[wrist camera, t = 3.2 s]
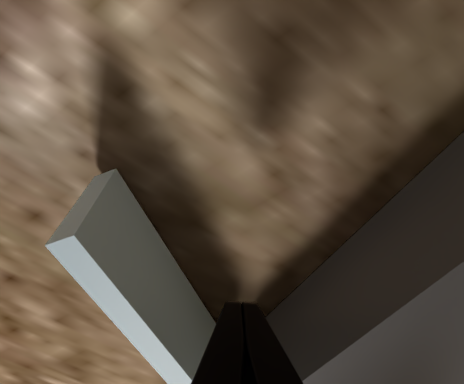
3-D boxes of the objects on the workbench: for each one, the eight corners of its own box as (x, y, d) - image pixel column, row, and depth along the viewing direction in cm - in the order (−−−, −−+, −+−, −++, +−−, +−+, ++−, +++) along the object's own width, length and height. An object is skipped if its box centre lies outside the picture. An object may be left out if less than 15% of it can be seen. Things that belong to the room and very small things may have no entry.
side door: (234, 345, 15) (236, 433, 12) (212, 350, 16) (209, 438, 13) (121, 165, 11) (77, 236, 7) (91, 176, 11) (37, 250, 8)
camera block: (367, 401, 18) (398, 489, 15) (232, 347, 16) (234, 440, 12) (661, 218, 12) (821, 301, 9) (520, 79, 9) (673, 123, 6)
